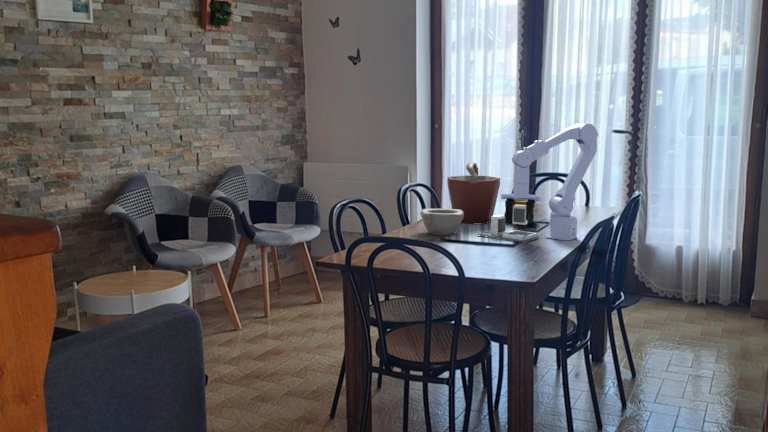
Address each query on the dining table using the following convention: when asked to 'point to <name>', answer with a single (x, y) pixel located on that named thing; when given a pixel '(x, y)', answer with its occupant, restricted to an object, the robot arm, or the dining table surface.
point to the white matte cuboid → (519, 214)
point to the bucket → (474, 195)
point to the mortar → (442, 220)
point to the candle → (508, 215)
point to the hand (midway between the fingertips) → (520, 219)
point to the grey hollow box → (498, 232)
